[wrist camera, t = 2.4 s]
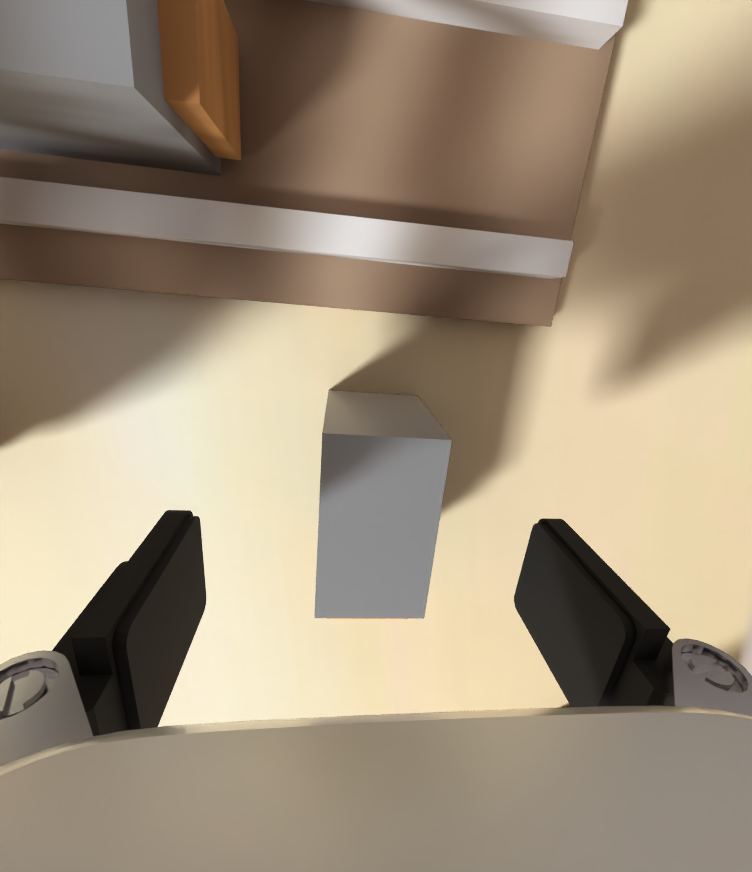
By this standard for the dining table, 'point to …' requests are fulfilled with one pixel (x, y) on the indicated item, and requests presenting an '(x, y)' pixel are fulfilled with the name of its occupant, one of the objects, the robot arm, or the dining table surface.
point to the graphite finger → (378, 505)
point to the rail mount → (302, 148)
